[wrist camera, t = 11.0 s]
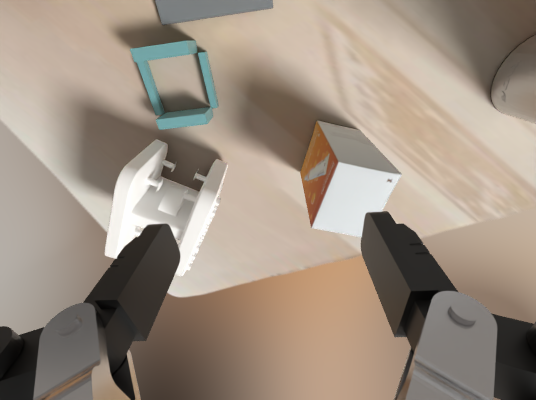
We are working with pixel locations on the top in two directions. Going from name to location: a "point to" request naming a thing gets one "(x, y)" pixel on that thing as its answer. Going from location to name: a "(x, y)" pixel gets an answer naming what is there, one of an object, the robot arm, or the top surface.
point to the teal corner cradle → (169, 118)
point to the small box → (344, 179)
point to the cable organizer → (162, 203)
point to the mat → (205, 9)
